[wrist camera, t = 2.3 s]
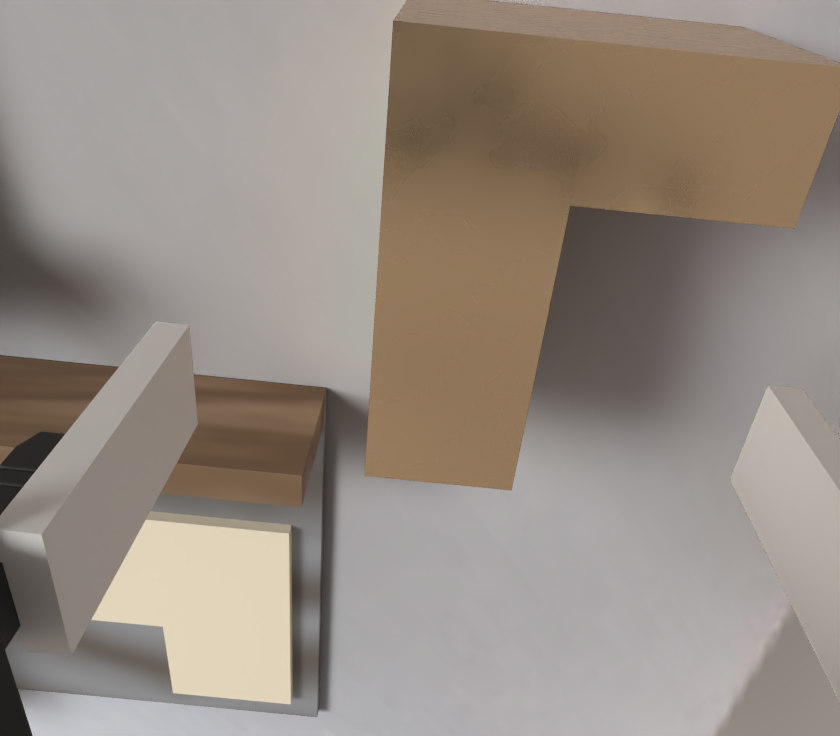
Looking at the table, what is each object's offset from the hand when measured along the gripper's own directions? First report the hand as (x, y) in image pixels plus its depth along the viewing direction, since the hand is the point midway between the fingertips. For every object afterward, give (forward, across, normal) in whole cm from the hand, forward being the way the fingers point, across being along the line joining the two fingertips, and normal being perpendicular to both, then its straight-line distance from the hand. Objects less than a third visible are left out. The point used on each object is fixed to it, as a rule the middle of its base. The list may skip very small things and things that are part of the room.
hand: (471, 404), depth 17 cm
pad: (+12, -15, -24) cm, 31 cm away
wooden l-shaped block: (+13, +3, +1) cm, 13 cm away
